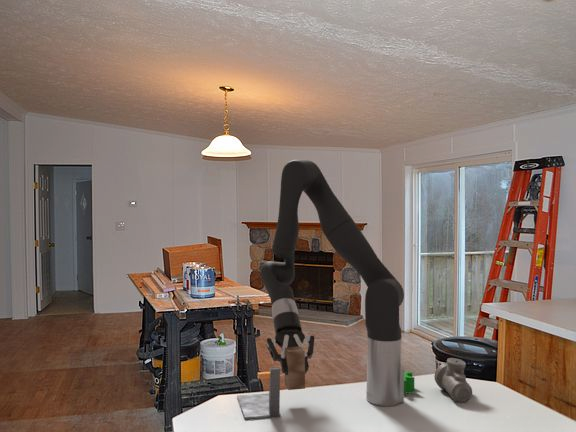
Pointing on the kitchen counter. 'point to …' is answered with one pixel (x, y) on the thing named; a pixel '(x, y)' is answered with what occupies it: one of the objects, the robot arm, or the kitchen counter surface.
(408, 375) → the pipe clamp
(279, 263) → the robot arm
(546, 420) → the kitchen counter surface
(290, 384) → the link block
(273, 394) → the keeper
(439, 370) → the pipe fitting
